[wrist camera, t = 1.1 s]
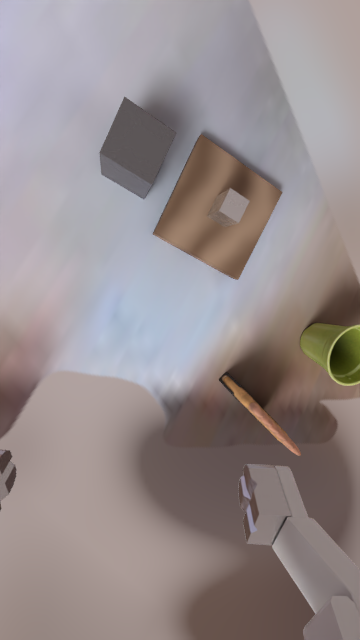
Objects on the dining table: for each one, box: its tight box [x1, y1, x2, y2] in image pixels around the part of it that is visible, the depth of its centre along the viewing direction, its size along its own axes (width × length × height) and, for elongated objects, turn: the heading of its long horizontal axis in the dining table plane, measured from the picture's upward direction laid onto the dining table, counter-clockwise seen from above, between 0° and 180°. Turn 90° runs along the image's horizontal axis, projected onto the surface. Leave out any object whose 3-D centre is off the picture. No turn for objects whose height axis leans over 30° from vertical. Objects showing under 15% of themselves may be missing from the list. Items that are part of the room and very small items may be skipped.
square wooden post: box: [207, 188, 250, 227], centre depth 37 cm, size 3×3×4 cm
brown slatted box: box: [219, 372, 301, 456], centre depth 42 cm, size 11×2×12 cm, turn 43°
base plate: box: [153, 134, 282, 280], centre depth 40 cm, size 14×14×2 cm
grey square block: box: [100, 97, 176, 199], centre depth 33 cm, size 6×6×8 cm
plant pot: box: [300, 323, 360, 386], centre depth 45 cm, size 9×9×9 cm
